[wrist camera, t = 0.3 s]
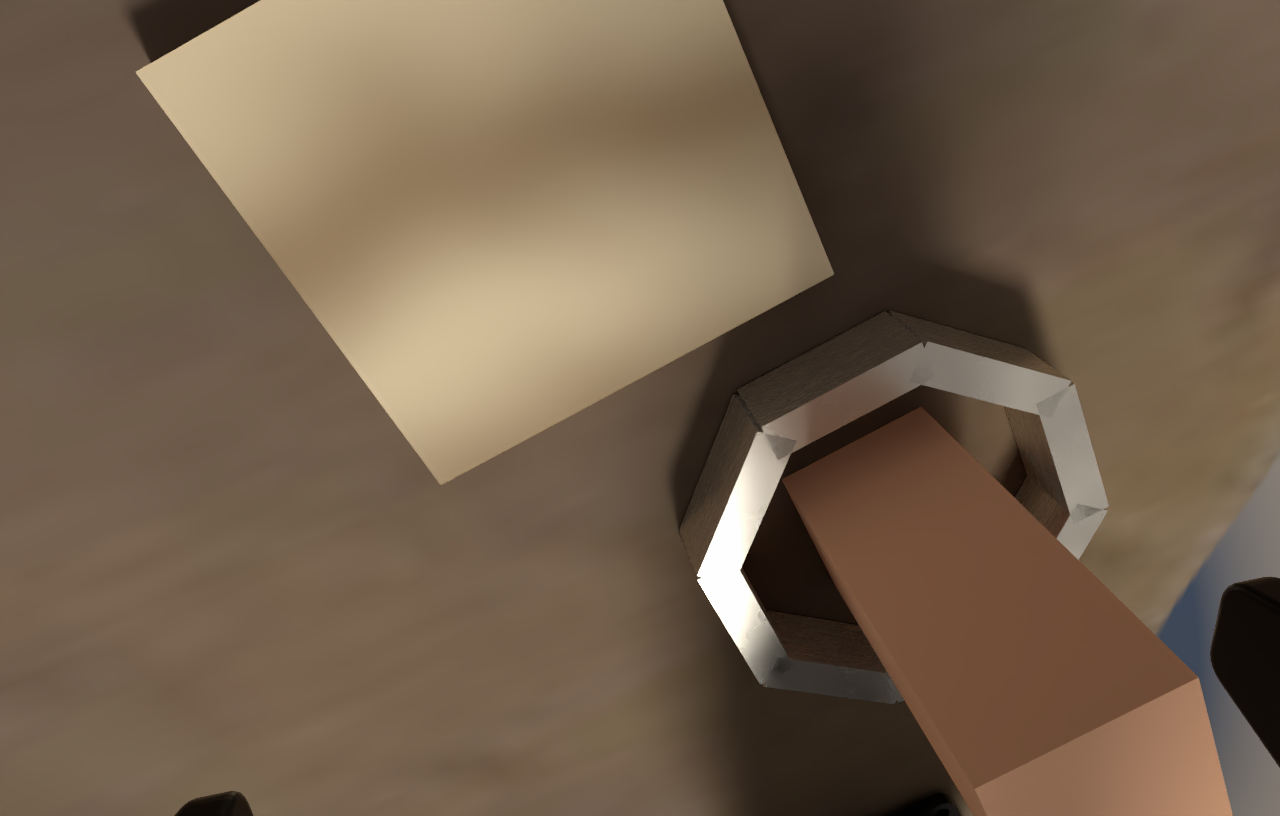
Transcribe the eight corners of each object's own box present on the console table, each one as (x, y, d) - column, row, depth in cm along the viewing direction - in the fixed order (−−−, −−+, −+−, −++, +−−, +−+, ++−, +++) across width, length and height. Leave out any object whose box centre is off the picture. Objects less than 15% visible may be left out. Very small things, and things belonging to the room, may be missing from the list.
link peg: (964, 517, 26) (1233, 816, 17) (834, 584, 26) (1032, 914, 17) (921, 406, 24) (1198, 677, 15) (781, 479, 24) (974, 789, 15)
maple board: (818, 260, 21) (834, 274, 21) (440, 463, 22) (440, 485, 21) (625, -207, 17) (635, -216, 16) (151, 65, 17) (135, 71, 16)
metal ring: (1086, 544, 27) (1131, 585, 25) (778, 701, 27) (801, 752, 26) (997, 251, 22) (1045, 277, 20) (627, 447, 23) (643, 489, 21)
